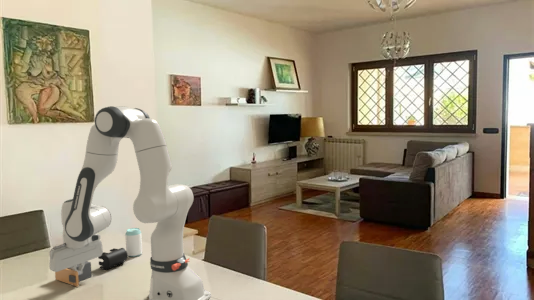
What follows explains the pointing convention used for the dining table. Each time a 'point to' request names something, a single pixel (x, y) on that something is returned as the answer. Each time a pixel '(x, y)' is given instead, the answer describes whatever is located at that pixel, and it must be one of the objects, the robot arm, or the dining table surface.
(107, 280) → the dining table surface
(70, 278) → the door
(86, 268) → the block
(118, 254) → the black ridged cylinder
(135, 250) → the can
